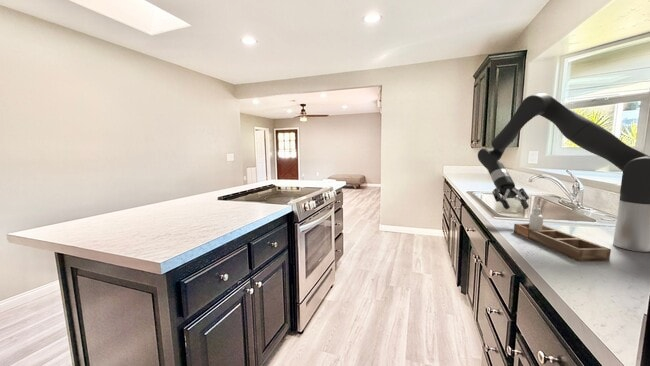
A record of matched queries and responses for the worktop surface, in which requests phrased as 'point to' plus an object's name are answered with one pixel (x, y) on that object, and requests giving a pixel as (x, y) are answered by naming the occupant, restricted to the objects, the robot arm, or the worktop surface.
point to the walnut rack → (564, 243)
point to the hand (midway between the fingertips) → (517, 208)
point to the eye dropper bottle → (536, 219)
